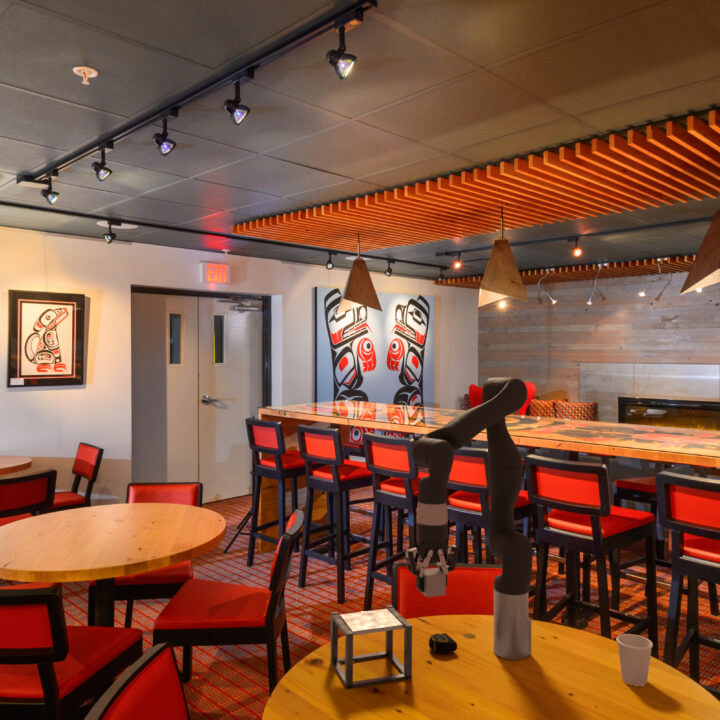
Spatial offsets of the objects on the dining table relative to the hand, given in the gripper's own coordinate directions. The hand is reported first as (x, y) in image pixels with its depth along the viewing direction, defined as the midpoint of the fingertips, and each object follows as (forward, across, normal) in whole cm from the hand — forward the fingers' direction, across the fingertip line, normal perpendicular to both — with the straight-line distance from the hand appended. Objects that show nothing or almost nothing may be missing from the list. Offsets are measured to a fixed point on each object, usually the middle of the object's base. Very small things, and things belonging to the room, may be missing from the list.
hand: (431, 589), depth 154 cm
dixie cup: (+24, -49, +14) cm, 56 cm away
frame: (+24, +11, -12) cm, 29 cm away
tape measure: (+24, -12, -17) cm, 32 cm away
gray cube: (+1, 0, 0) cm, 1 cm away
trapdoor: (+12, +11, -13) cm, 20 cm away
